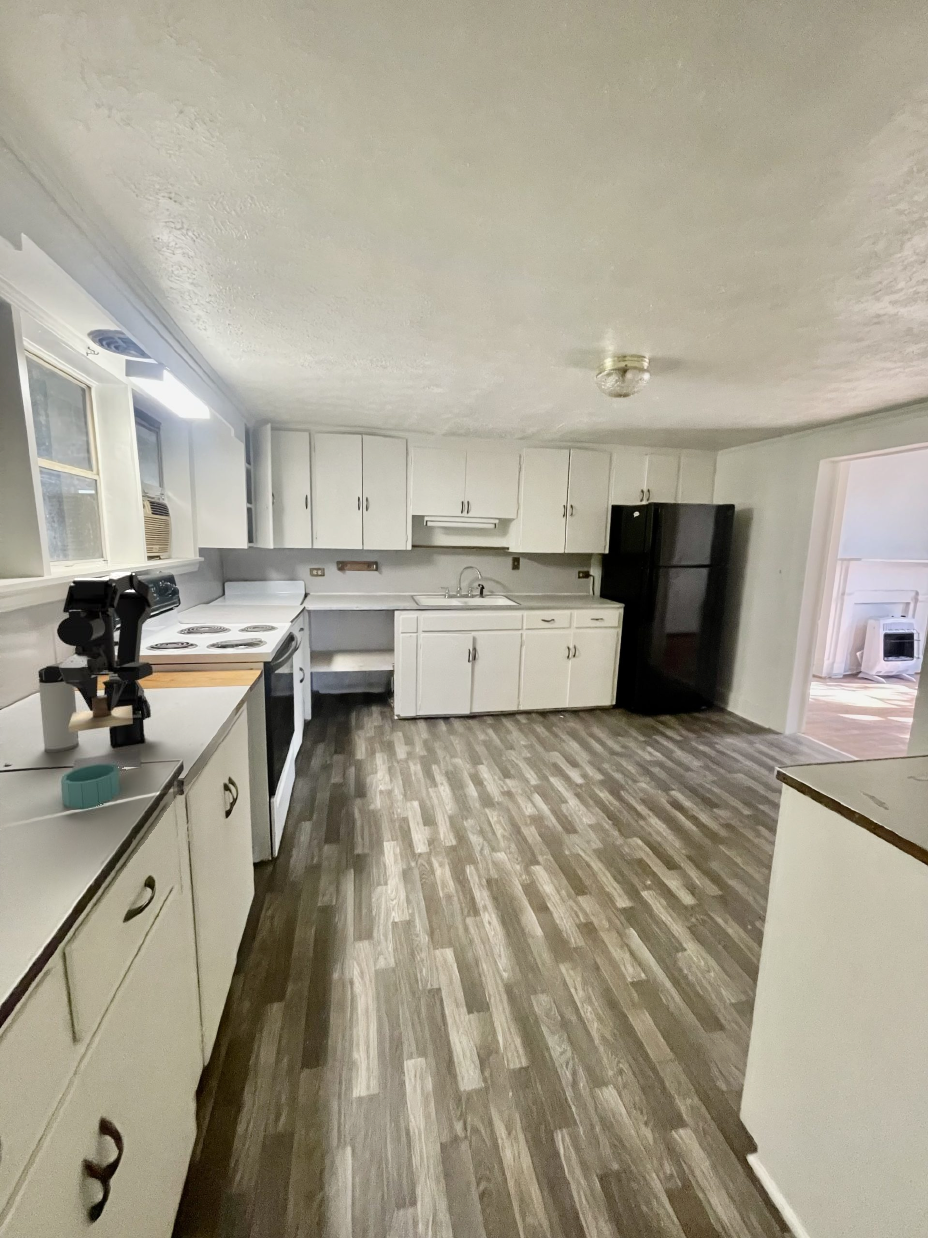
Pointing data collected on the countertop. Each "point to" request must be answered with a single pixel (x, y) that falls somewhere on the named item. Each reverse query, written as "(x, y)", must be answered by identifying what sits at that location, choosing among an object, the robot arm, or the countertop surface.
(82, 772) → the bowl
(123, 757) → the mat
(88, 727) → the lid
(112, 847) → the countertop surface
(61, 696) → the travel mug
